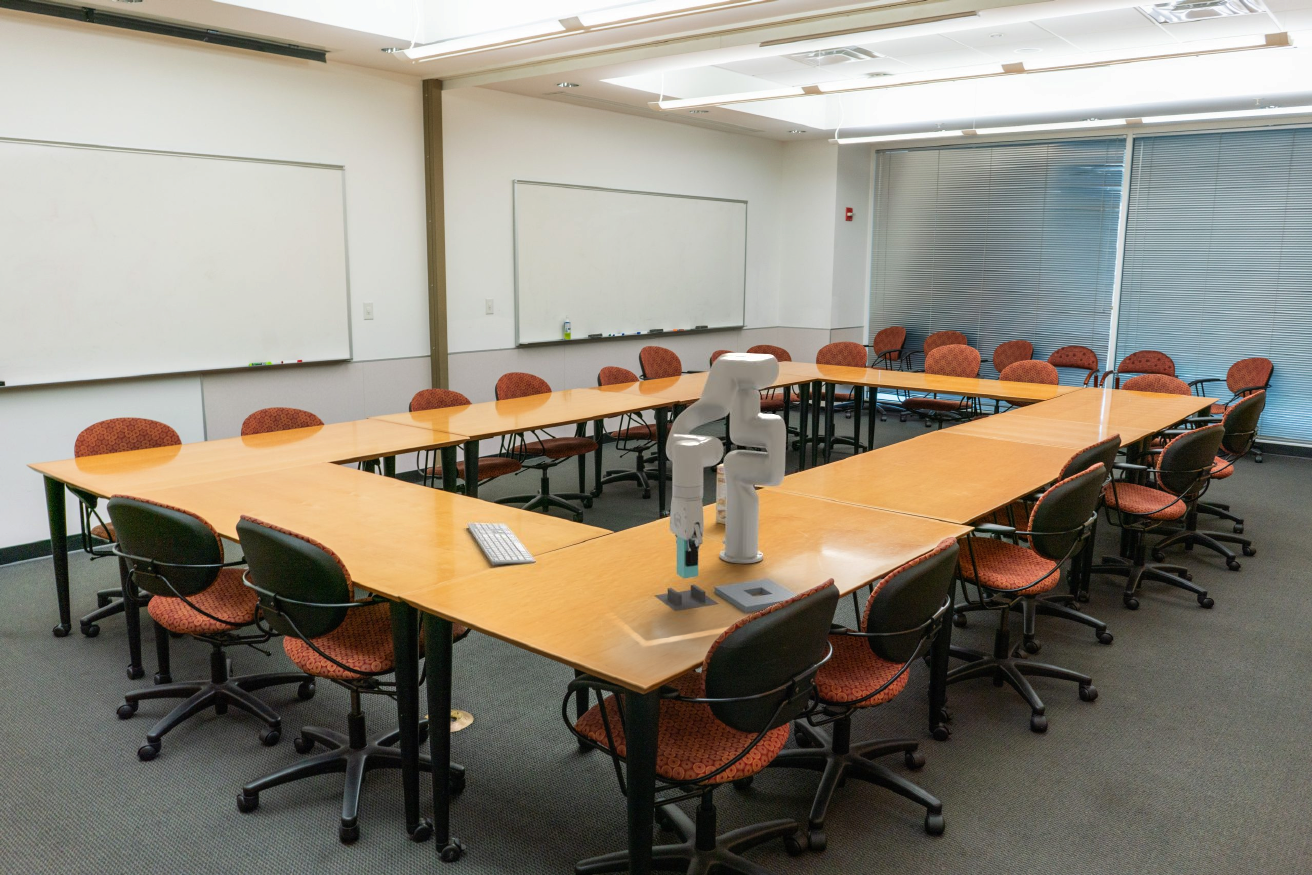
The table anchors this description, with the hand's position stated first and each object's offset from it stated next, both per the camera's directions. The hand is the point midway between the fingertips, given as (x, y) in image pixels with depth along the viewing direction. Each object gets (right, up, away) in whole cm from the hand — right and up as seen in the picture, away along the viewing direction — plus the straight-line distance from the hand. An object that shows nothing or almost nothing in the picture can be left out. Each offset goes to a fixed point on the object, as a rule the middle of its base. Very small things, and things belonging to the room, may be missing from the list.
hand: (687, 562), depth 229 cm
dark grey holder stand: (0, -10, +1) cm, 11 cm away
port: (+18, -10, +3) cm, 21 cm away
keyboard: (-55, -2, +52) cm, 76 cm away
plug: (0, -3, +1) cm, 3 cm away
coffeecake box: (+19, +3, +83) cm, 85 cm away
